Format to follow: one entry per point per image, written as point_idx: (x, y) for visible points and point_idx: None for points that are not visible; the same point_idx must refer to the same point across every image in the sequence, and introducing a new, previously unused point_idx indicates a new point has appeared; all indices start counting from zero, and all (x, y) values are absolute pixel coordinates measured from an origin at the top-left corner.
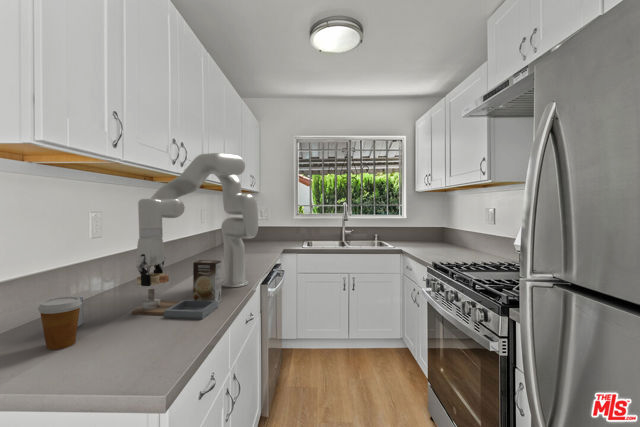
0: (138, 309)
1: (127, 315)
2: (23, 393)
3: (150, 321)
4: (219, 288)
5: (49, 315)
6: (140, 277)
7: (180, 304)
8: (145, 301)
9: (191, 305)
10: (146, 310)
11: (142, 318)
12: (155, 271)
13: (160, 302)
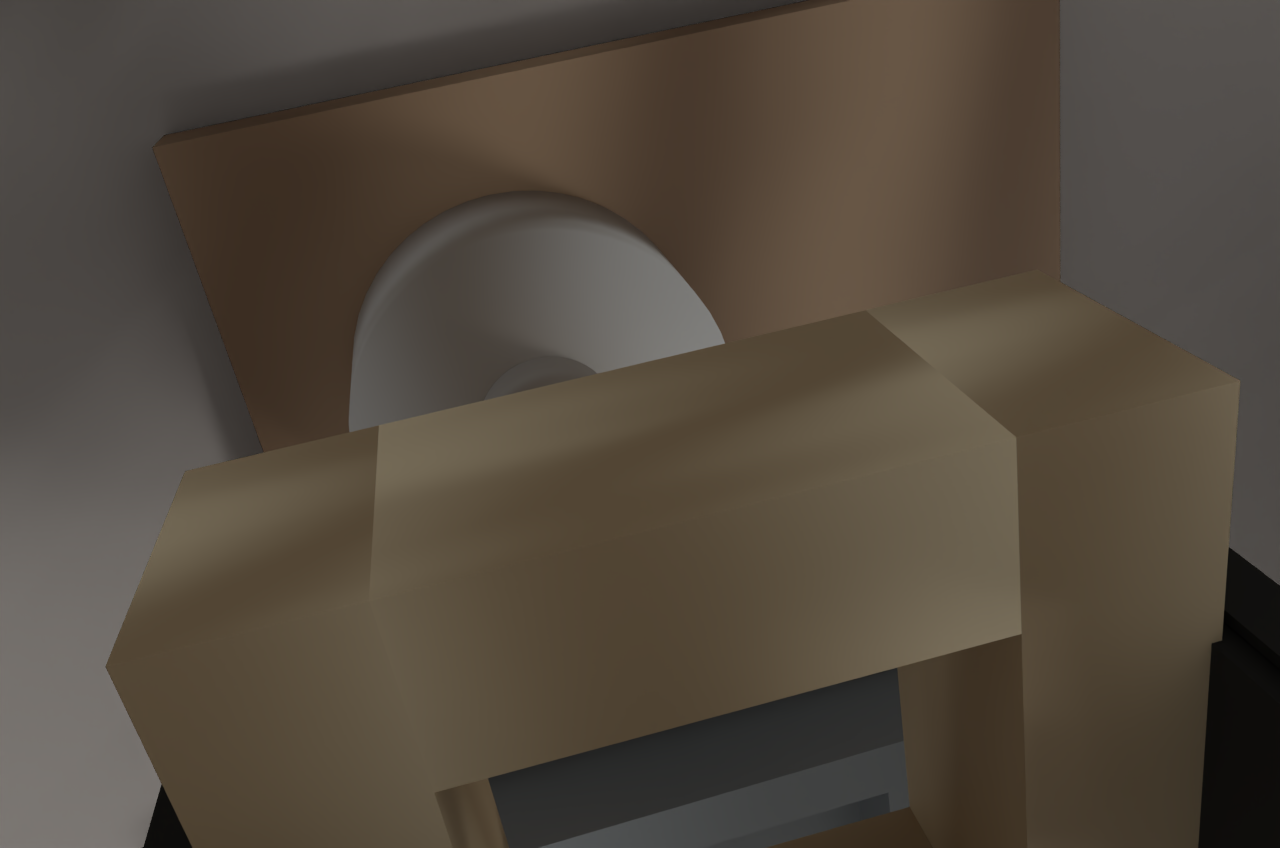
0: (326, 192)
1: (54, 118)
2: None
3: (24, 782)
4: None
5: None
6: (196, 829)
7: (715, 826)
8: (453, 336)
9: (863, 819)
10: (336, 414)
11: (72, 553)
12: (1265, 789)
13: (912, 237)
